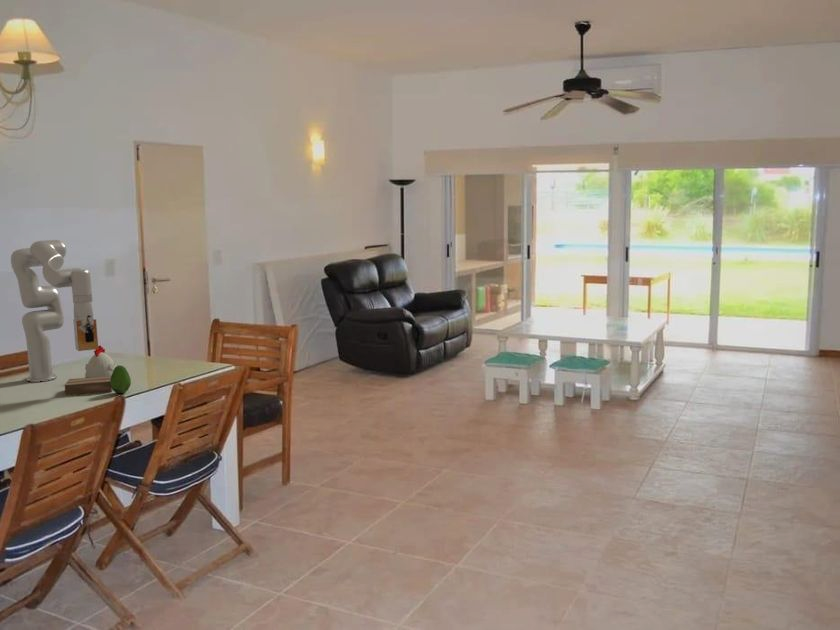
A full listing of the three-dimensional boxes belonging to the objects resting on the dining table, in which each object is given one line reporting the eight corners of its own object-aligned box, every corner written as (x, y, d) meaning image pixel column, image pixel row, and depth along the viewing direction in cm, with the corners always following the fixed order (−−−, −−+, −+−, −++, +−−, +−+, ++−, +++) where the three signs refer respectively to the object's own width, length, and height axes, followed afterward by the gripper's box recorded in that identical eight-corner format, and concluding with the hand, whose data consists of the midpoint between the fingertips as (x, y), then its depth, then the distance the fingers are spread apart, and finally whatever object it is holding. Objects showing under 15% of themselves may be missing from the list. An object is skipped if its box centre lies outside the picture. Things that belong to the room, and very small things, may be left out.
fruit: (125, 395, 329) (122, 367, 327) (107, 395, 330) (105, 367, 328) (135, 391, 336) (132, 363, 335) (117, 390, 338) (115, 363, 336)
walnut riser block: (69, 390, 342) (68, 379, 342) (114, 386, 347) (113, 375, 347) (65, 396, 331) (64, 385, 330) (111, 393, 336) (110, 381, 335)
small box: (78, 351, 332) (75, 320, 330) (75, 349, 337) (72, 319, 335) (99, 349, 336) (96, 318, 334) (95, 347, 341) (93, 317, 339)
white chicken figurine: (79, 381, 358) (76, 348, 356) (95, 374, 372) (92, 343, 370) (108, 381, 357) (106, 348, 355) (123, 374, 370) (121, 343, 368)
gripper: (65, 298, 337) (69, 340, 340) (81, 301, 325) (85, 344, 327) (83, 296, 342) (87, 337, 345) (99, 299, 330) (103, 341, 332)
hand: (86, 340), depth 336 cm, fingers closed on small box, 6 cm apart
